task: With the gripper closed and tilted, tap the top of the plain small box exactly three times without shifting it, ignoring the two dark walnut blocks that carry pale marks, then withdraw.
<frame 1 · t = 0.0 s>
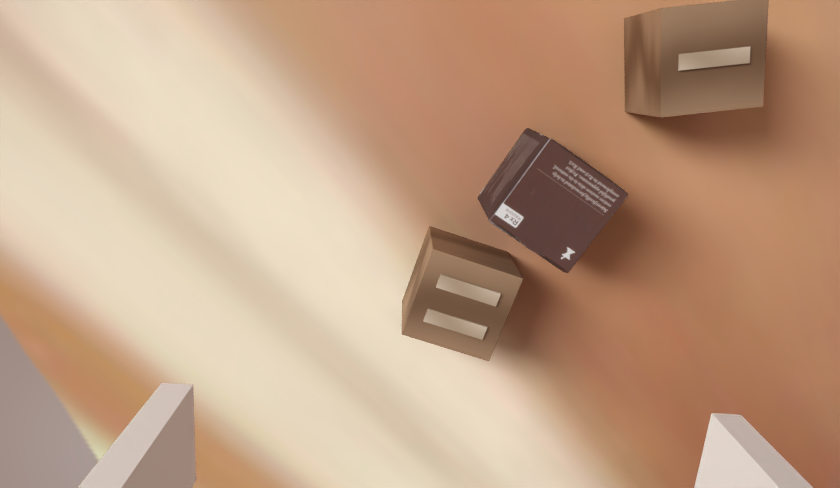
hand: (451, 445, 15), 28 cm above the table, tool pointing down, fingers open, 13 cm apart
box: (533, 185, 42), on the table
marked block one: (668, 61, 40), on the table
marked block two: (454, 276, 44), on the table
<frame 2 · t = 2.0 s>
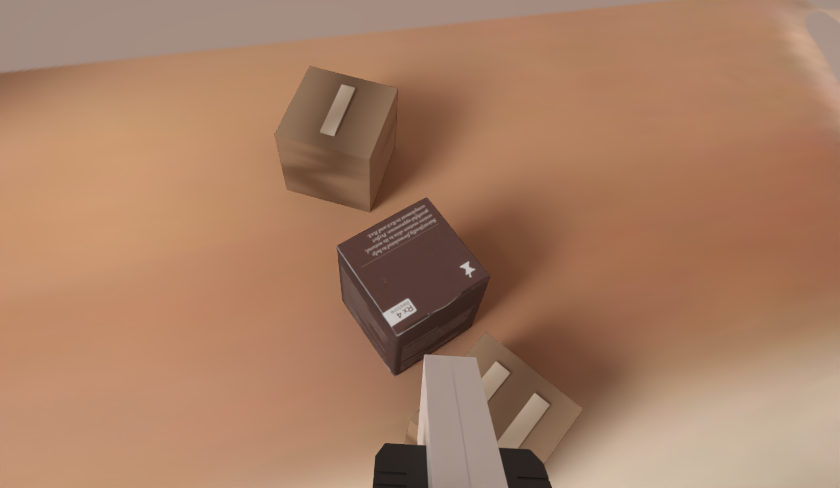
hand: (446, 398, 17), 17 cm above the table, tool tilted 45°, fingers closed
box: (406, 315, 38), on the table
marked block one: (342, 167, 43), on the table
marked block two: (478, 439, 34), on the table
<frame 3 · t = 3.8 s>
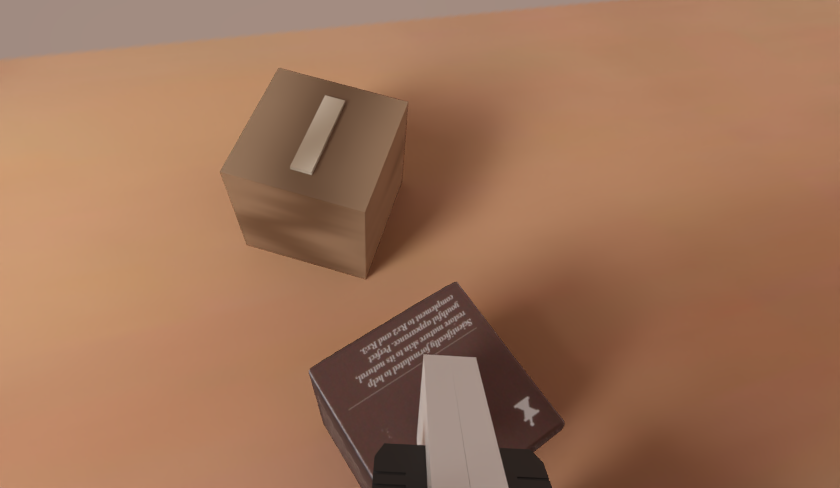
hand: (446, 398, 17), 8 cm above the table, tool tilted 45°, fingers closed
box: (419, 443, 25), on the table, touching gripper
marked block one: (327, 212, 30), on the table
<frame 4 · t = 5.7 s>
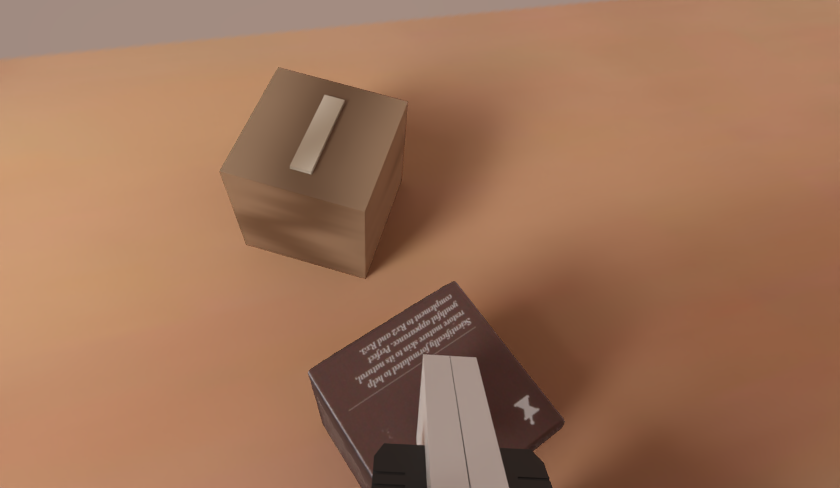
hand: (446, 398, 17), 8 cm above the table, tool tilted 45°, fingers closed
box: (419, 443, 25), on the table, touching gripper
marked block one: (327, 212, 30), on the table
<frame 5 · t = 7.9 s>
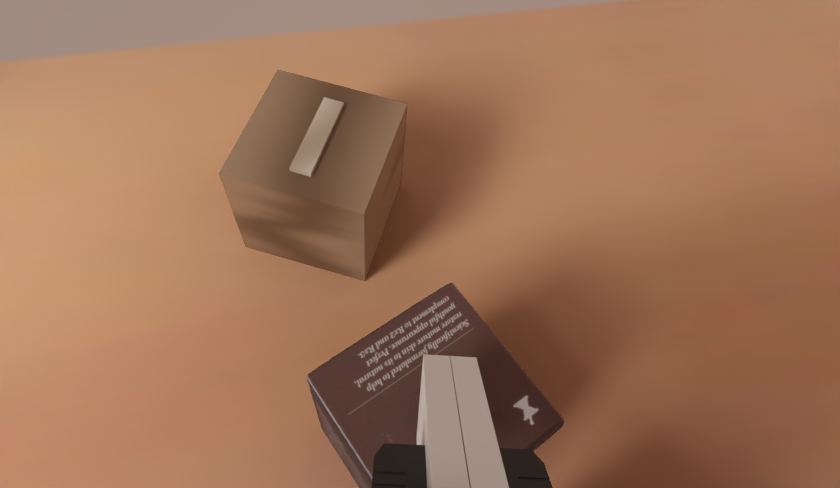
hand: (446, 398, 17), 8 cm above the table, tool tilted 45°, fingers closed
box: (418, 445, 25), on the table, touching gripper
marked block one: (326, 214, 30), on the table
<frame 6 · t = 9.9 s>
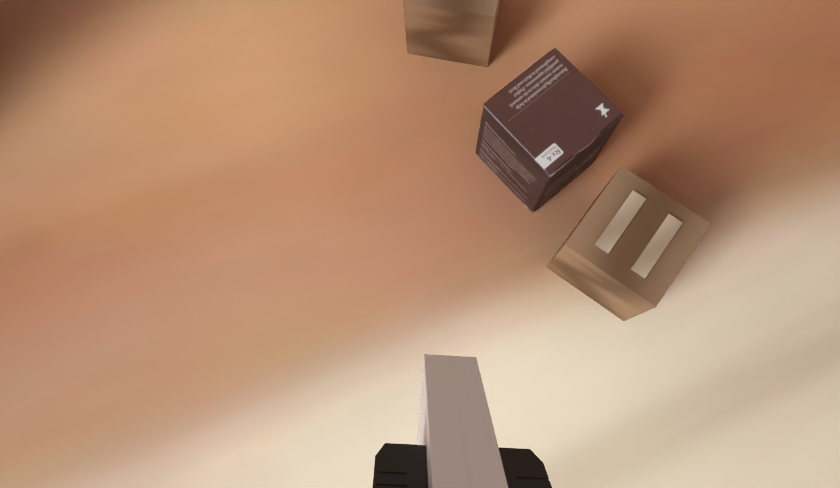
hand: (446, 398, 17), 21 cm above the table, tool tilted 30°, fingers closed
box: (533, 159, 42), on the table
marked block one: (455, 25, 45), on the table
marked block two: (608, 258, 40), on the table
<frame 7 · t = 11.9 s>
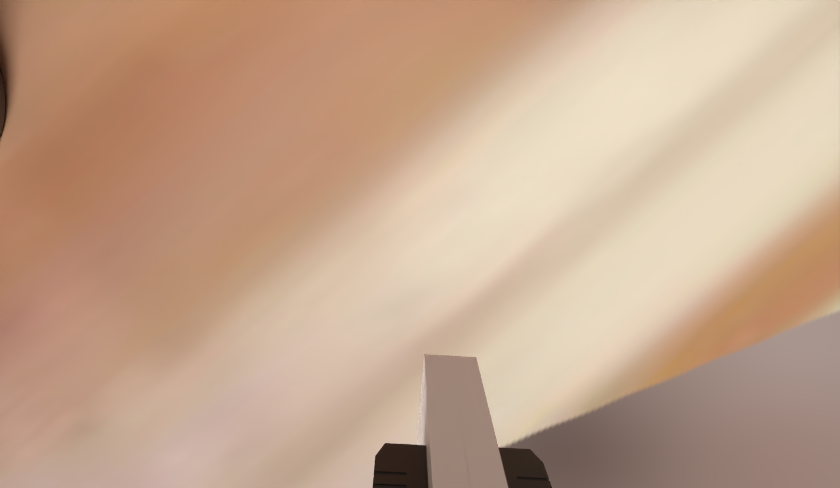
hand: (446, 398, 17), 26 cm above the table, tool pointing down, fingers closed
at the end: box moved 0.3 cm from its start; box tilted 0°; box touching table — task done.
